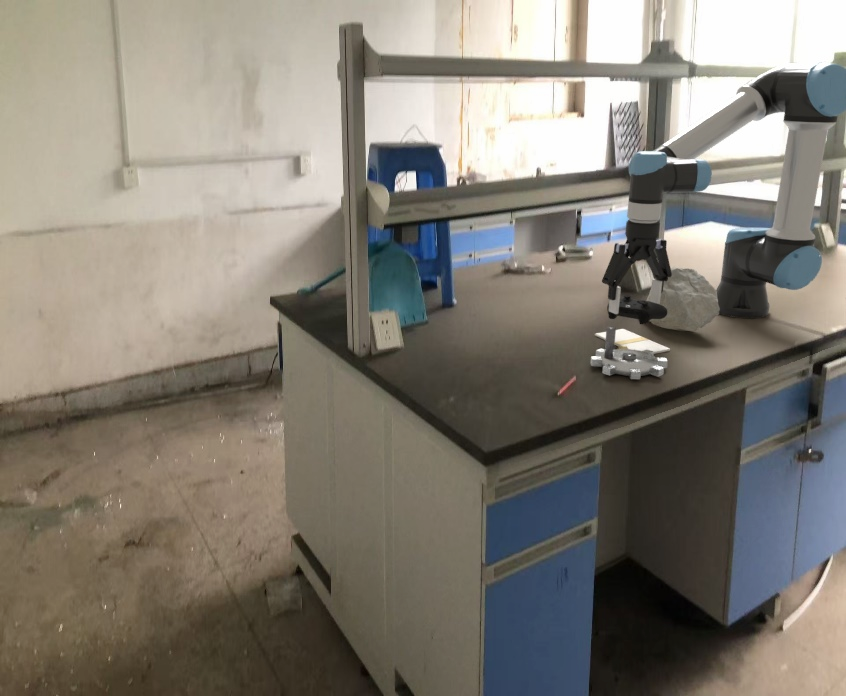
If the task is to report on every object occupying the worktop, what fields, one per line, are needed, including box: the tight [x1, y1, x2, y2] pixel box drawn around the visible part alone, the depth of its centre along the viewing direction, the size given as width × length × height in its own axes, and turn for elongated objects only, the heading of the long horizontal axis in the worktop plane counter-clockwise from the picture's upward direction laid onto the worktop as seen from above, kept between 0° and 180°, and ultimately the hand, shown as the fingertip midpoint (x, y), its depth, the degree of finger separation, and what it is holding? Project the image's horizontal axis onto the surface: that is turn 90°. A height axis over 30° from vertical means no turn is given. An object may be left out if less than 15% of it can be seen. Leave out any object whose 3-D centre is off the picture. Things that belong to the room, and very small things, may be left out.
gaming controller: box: [607, 294, 667, 325], centre depth 191 cm, size 14×6×10 cm
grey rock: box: [646, 266, 720, 332], centre depth 202 cm, size 22×13×15 cm, turn 31°
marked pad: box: [594, 328, 671, 355], centre depth 194 cm, size 9×17×1 cm, turn 26°
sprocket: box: [590, 326, 668, 380], centre depth 176 cm, size 17×17×9 cm
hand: (634, 309), depth 191 cm, fingers closed on gaming controller, 12 cm apart
